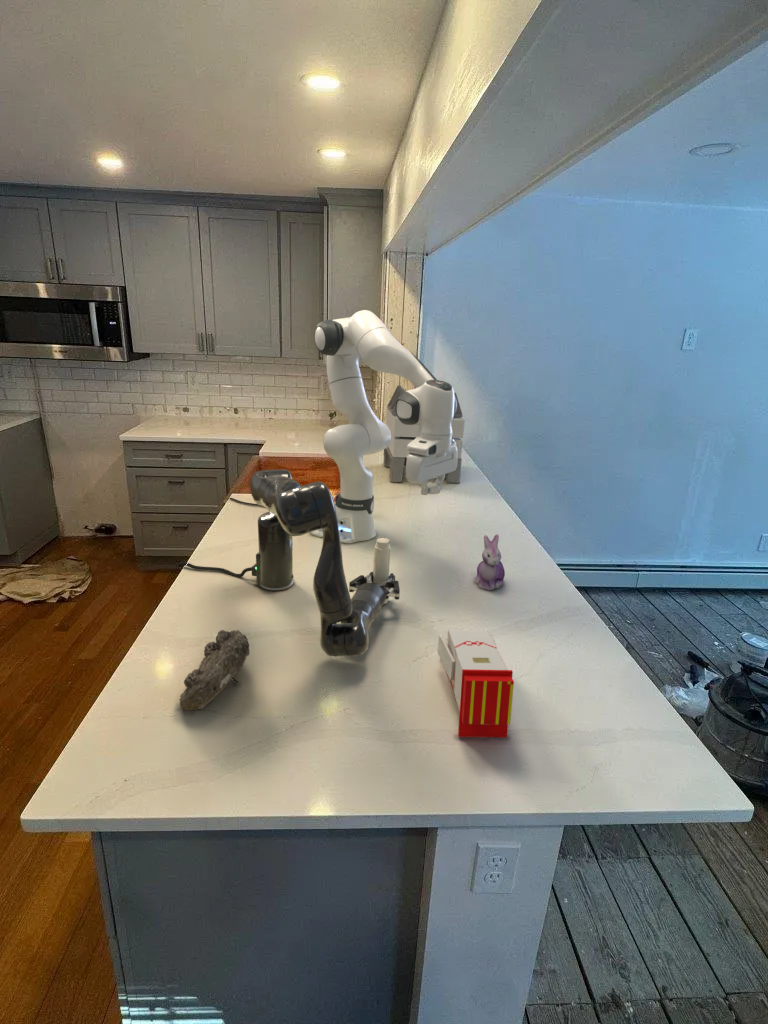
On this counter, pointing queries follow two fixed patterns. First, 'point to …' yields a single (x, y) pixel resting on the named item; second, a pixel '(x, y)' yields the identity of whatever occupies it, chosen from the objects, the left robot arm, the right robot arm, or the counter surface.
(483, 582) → the figurine
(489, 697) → the toy
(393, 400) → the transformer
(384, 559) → the cream cylinder
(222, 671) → the fossil
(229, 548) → the counter surface
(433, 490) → the lid
